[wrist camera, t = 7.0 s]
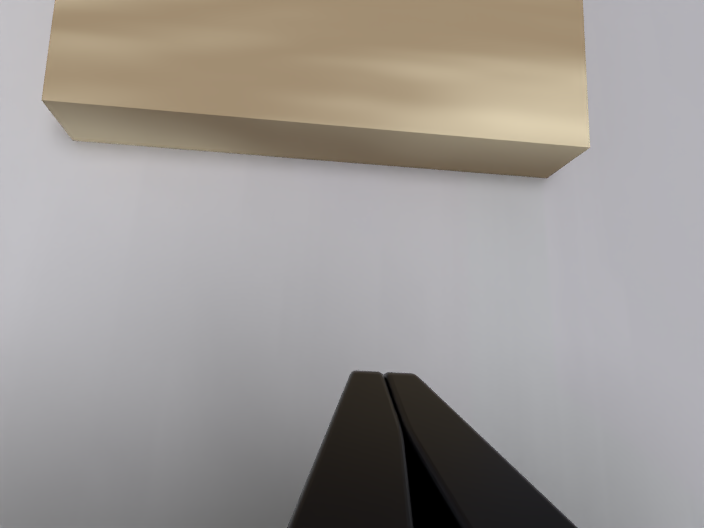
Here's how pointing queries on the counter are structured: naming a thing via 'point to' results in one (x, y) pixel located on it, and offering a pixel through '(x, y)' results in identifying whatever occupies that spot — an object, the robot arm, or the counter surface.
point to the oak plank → (328, 79)
